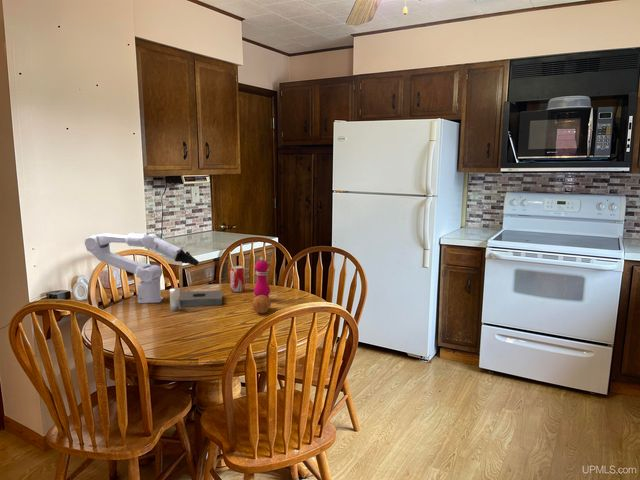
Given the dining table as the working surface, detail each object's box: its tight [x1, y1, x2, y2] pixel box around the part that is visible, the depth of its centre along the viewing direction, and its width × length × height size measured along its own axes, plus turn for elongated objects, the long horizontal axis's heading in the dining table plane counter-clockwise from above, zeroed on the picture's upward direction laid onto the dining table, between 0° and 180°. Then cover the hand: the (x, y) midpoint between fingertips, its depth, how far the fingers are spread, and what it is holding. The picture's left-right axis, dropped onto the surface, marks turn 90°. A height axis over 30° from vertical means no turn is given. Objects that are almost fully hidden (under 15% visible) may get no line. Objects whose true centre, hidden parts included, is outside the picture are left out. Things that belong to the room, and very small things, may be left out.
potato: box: [252, 295, 272, 314], centre depth 199 cm, size 7×13×7 cm, turn 174°
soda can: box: [229, 265, 246, 293], centre depth 232 cm, size 7×7×12 cm
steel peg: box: [169, 287, 181, 312], centre depth 200 cm, size 4×4×9 cm
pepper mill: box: [253, 256, 271, 299], centre depth 214 cm, size 7×7×20 cm
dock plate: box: [180, 290, 224, 308], centre depth 213 cm, size 20×14×3 cm
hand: (195, 263), depth 210 cm, fingers open, 7 cm apart
